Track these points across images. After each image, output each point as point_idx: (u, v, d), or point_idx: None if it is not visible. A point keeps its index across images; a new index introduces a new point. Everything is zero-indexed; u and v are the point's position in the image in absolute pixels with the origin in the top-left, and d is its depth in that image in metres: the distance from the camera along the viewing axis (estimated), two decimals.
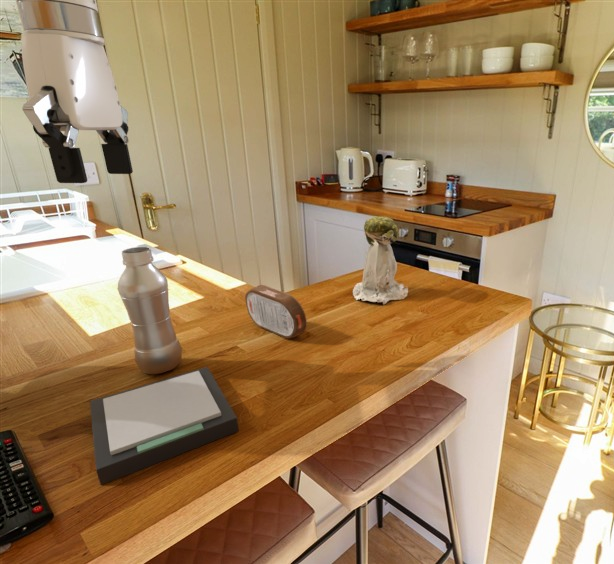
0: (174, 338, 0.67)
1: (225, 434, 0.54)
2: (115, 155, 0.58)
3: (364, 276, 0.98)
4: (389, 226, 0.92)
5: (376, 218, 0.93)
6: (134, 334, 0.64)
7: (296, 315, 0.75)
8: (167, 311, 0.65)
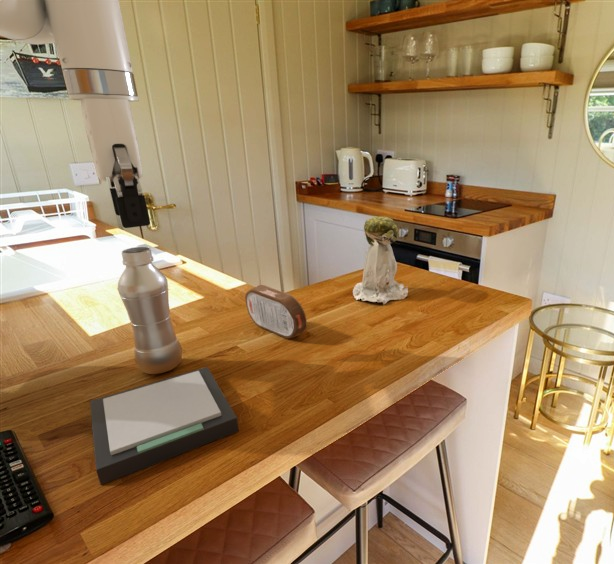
0: (174, 338, 0.67)
1: (225, 434, 0.54)
2: None
3: (364, 276, 0.98)
4: (389, 226, 0.92)
5: (376, 218, 0.93)
6: (134, 334, 0.64)
7: (296, 315, 0.75)
8: (167, 311, 0.65)
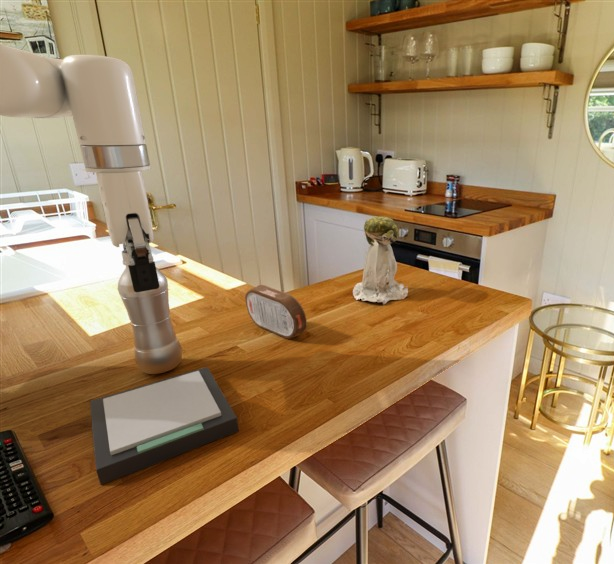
0: (174, 338, 0.67)
1: (225, 434, 0.54)
2: None
3: (364, 276, 0.98)
4: (389, 226, 0.92)
5: (376, 218, 0.93)
6: (134, 334, 0.64)
7: (296, 315, 0.75)
8: (167, 311, 0.65)
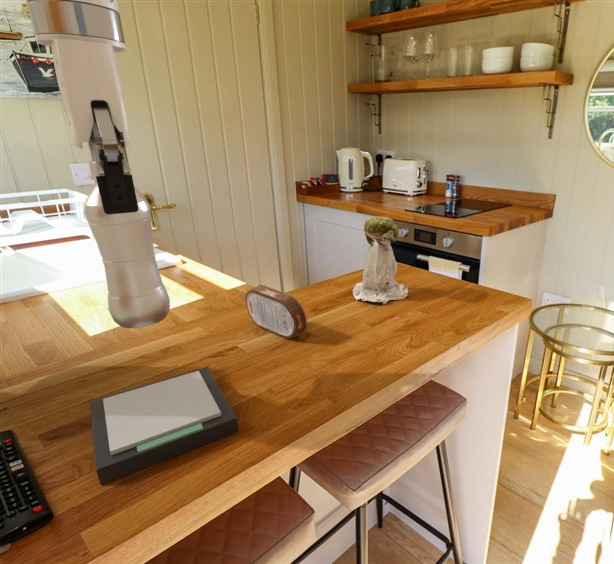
0: (159, 283, 0.53)
1: (225, 434, 0.54)
2: None
3: (364, 276, 0.98)
4: (389, 226, 0.92)
5: (376, 218, 0.93)
6: (107, 275, 0.50)
7: (296, 315, 0.75)
8: (150, 247, 0.51)
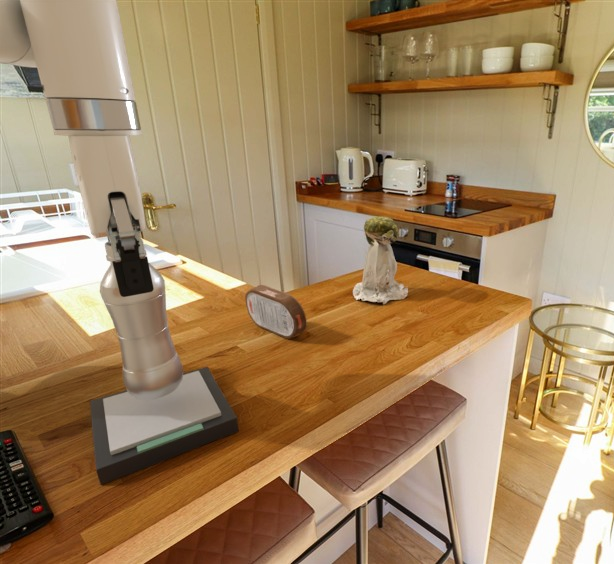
0: (173, 354, 0.53)
1: (225, 434, 0.54)
2: None
3: (364, 276, 0.98)
4: (389, 226, 0.92)
5: (376, 218, 0.93)
6: (122, 350, 0.50)
7: (296, 315, 0.75)
8: (164, 320, 0.51)
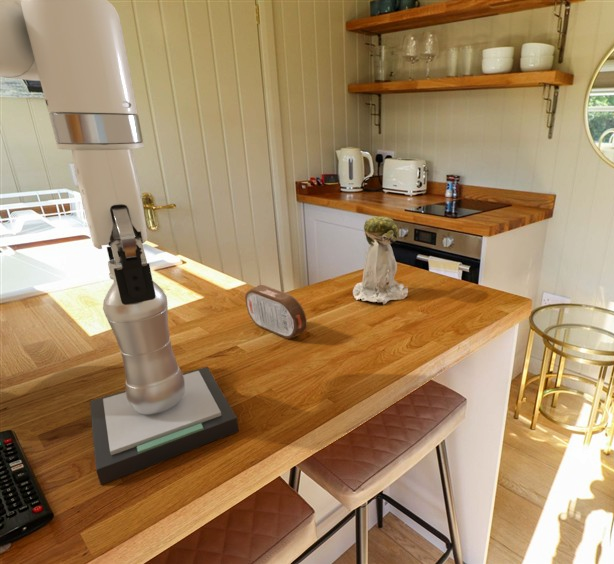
0: (175, 368, 0.54)
1: (225, 434, 0.54)
2: None
3: (364, 276, 0.98)
4: (389, 226, 0.92)
5: (376, 218, 0.93)
6: (125, 365, 0.51)
7: (296, 315, 0.75)
8: (166, 336, 0.52)
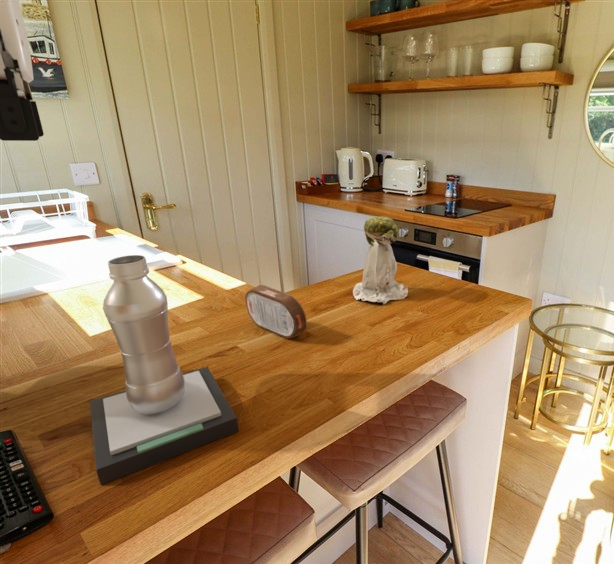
0: (175, 368, 0.54)
1: (225, 434, 0.54)
2: None
3: (364, 276, 0.98)
4: (389, 226, 0.92)
5: (376, 218, 0.93)
6: (125, 365, 0.51)
7: (296, 315, 0.75)
8: (166, 336, 0.52)
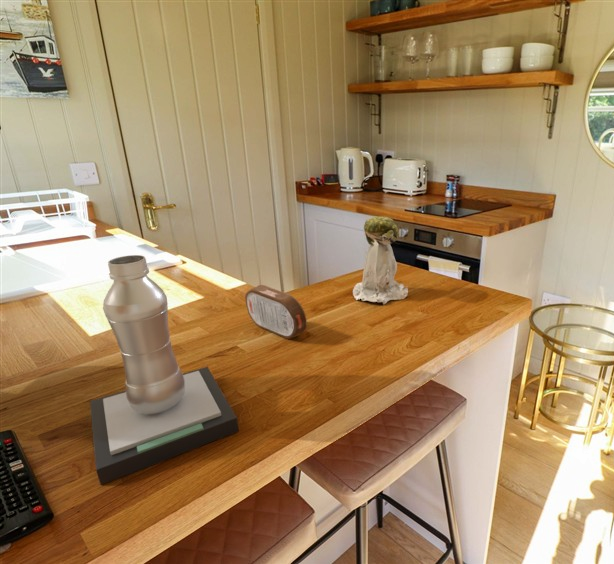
0: (175, 368, 0.54)
1: (225, 434, 0.54)
2: None
3: (364, 276, 0.98)
4: (389, 226, 0.92)
5: (376, 218, 0.93)
6: (125, 365, 0.51)
7: (296, 315, 0.75)
8: (166, 336, 0.52)
